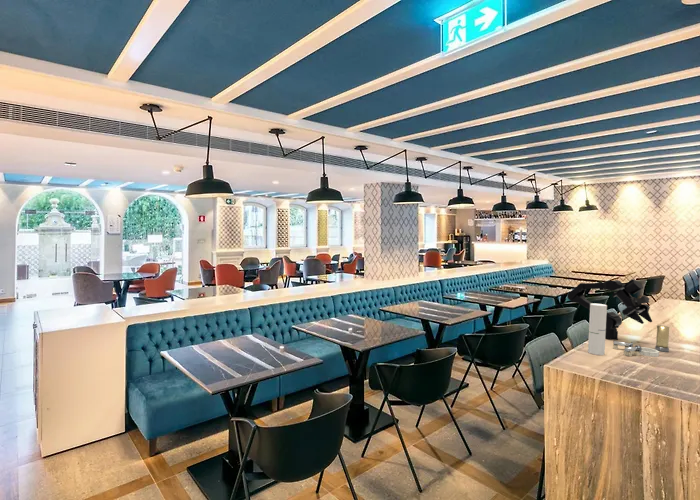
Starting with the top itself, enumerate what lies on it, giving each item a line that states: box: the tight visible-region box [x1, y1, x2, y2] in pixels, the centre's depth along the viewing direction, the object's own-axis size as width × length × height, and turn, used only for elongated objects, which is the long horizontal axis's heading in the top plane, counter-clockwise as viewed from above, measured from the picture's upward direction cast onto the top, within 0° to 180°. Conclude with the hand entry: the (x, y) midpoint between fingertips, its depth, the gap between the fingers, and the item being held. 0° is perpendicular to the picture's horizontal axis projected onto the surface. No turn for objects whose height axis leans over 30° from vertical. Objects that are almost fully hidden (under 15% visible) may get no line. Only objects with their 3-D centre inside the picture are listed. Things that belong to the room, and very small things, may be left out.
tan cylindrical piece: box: [654, 324, 670, 353], centre depth 203 cm, size 6×6×13 cm
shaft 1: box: [612, 340, 634, 350], centre depth 204 cm, size 8×3×5 cm, turn 52°
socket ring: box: [639, 346, 660, 358], centre depth 197 cm, size 10×10×2 cm
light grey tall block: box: [587, 302, 608, 356], centre depth 196 cm, size 7×7×25 cm
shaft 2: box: [623, 345, 642, 357], centre depth 194 cm, size 8×3×5 cm, turn 107°
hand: (647, 322), depth 210 cm, fingers open, 9 cm apart
